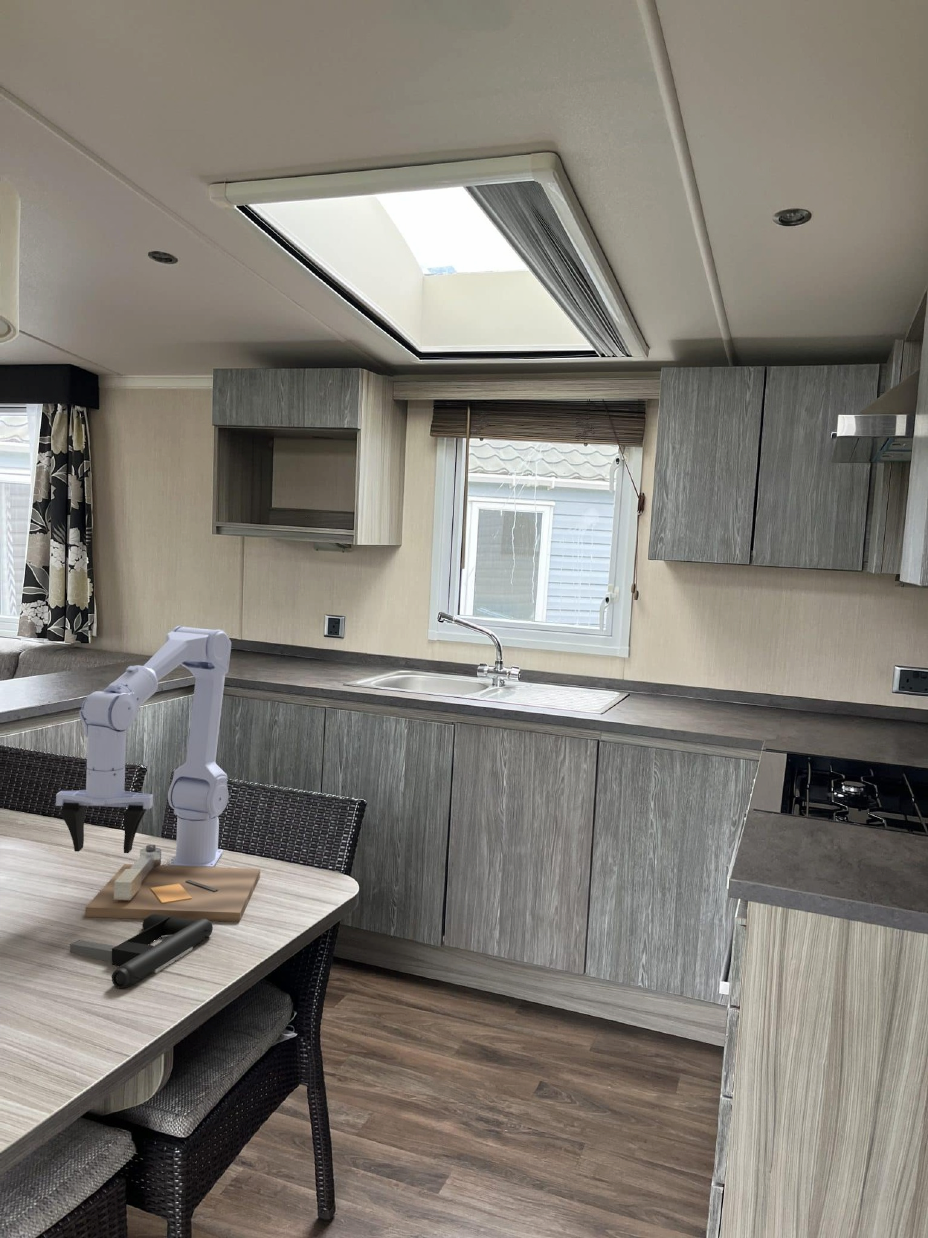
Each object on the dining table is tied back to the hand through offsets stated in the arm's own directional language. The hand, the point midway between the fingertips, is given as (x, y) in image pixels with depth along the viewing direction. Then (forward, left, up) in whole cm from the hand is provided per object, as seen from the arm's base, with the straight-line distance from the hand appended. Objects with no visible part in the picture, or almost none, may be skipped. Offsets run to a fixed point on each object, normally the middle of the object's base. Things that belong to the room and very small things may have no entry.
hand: (103, 850), depth 147 cm
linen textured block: (-7, +4, -7) cm, 11 cm away
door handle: (+15, +10, -10) cm, 21 cm away
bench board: (-7, +11, -10) cm, 16 cm away
